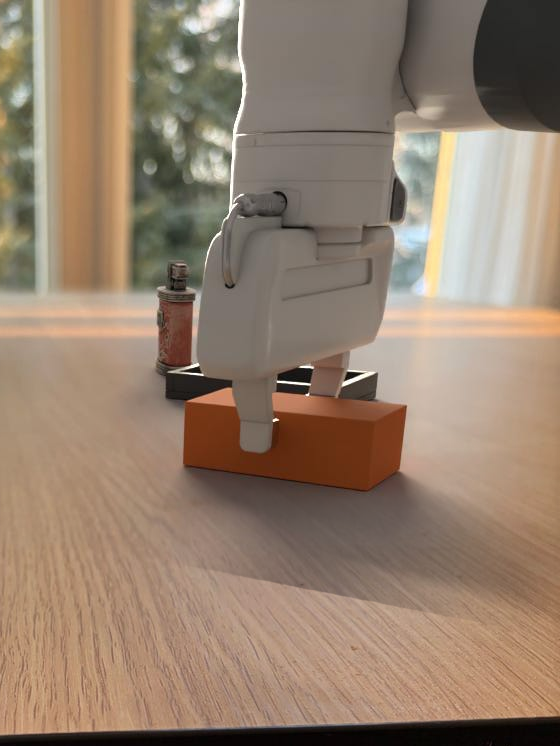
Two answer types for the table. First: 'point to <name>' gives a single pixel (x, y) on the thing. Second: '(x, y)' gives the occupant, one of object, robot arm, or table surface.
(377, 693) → the table surface
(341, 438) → the block
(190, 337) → the lighter
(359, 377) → the frame
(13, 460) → the table surface
